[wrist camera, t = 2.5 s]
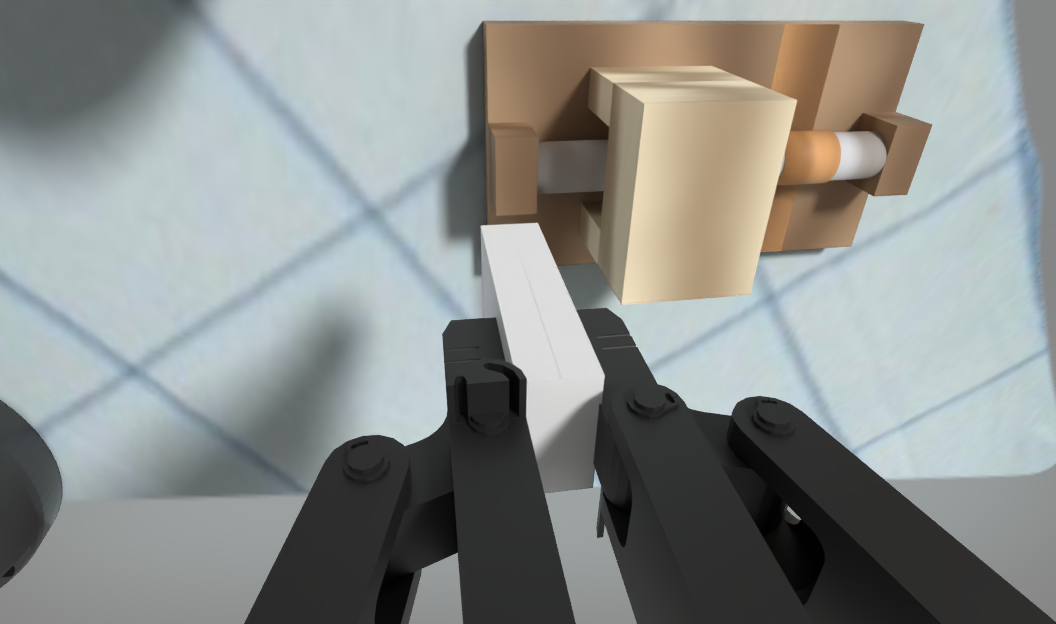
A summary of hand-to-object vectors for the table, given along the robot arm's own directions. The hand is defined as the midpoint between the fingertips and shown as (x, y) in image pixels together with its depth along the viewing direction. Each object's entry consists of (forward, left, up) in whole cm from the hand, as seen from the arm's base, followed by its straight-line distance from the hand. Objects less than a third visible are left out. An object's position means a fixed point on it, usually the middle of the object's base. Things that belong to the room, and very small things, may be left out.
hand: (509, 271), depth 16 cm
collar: (+7, 0, -10) cm, 12 cm away
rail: (+10, 0, -11) cm, 14 cm away
